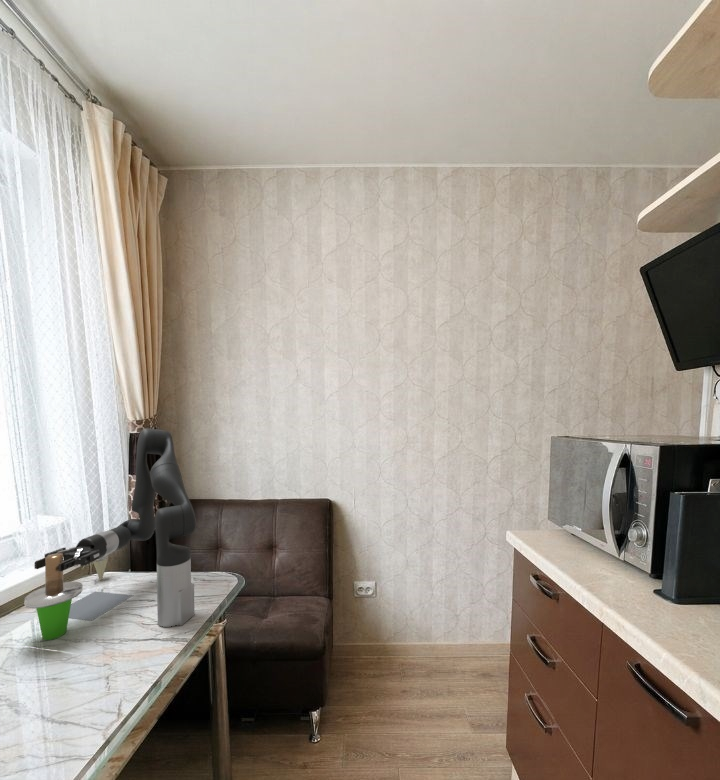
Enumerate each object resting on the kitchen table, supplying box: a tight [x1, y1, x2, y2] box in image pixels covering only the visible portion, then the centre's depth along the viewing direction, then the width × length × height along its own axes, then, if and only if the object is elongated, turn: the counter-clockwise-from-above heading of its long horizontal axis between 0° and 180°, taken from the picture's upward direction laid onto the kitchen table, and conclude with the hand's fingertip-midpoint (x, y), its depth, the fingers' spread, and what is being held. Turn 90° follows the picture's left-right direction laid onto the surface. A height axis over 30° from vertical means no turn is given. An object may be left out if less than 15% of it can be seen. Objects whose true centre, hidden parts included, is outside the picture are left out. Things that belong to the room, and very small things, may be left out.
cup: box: [35, 599, 73, 641], centre depth 112 cm, size 9×9×11 cm
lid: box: [23, 553, 84, 609], centre depth 112 cm, size 13×13×11 cm
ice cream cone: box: [92, 554, 109, 581], centre depth 147 cm, size 5×5×15 cm
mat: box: [68, 590, 134, 622], centre depth 128 cm, size 16×16×1 cm
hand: (47, 566), depth 111 cm, fingers open, 8 cm apart
